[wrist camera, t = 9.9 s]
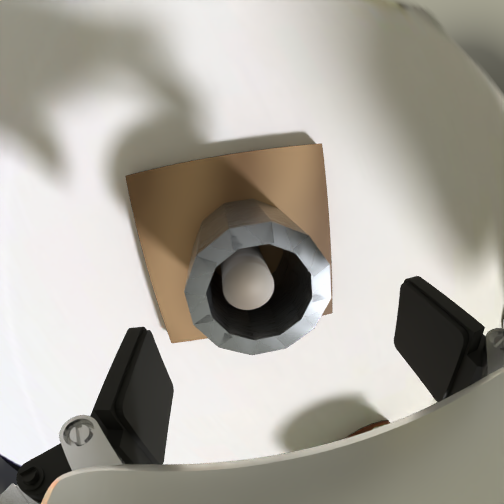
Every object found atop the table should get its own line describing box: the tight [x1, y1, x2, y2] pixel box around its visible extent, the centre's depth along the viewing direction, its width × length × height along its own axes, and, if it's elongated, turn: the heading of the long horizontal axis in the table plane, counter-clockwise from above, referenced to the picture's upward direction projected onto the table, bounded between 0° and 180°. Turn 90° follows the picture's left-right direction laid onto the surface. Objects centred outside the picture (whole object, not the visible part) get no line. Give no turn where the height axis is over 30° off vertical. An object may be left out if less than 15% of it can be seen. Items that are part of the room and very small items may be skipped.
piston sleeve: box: [184, 199, 331, 355], centre depth 15 cm, size 6×6×6 cm
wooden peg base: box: [126, 144, 332, 343], centre depth 16 cm, size 12×12×6 cm
